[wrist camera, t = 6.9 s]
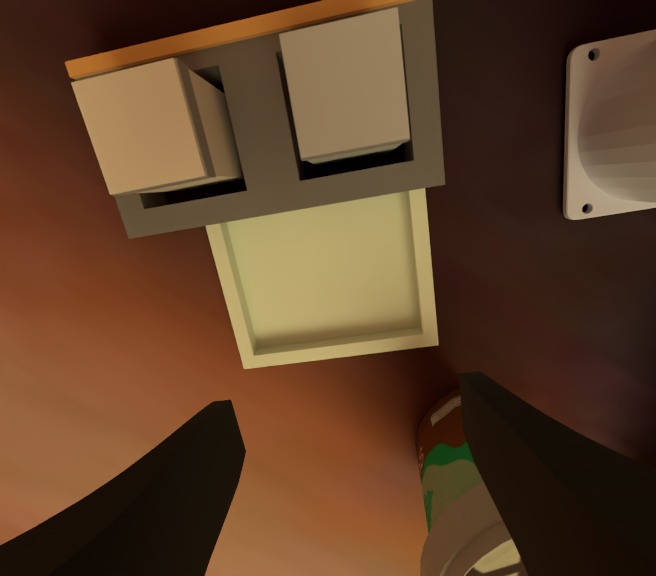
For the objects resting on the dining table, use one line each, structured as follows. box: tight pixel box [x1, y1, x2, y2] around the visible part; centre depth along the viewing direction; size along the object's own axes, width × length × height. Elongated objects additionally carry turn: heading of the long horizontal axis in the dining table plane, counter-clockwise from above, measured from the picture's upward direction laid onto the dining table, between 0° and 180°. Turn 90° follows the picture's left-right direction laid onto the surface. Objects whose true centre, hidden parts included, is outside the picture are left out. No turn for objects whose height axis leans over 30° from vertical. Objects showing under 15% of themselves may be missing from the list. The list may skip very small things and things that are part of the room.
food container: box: [416, 388, 528, 576], centre depth 19 cm, size 12×6×10 cm, turn 27°
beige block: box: [279, 7, 410, 165], centre depth 15 cm, size 4×4×6 cm
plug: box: [71, 58, 244, 196], centre depth 16 cm, size 4×4×6 cm
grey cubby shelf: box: [65, 0, 445, 239], centre depth 17 cm, size 16×8×3 cm, turn 100°
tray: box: [206, 188, 439, 369], centre depth 20 cm, size 12×10×1 cm
